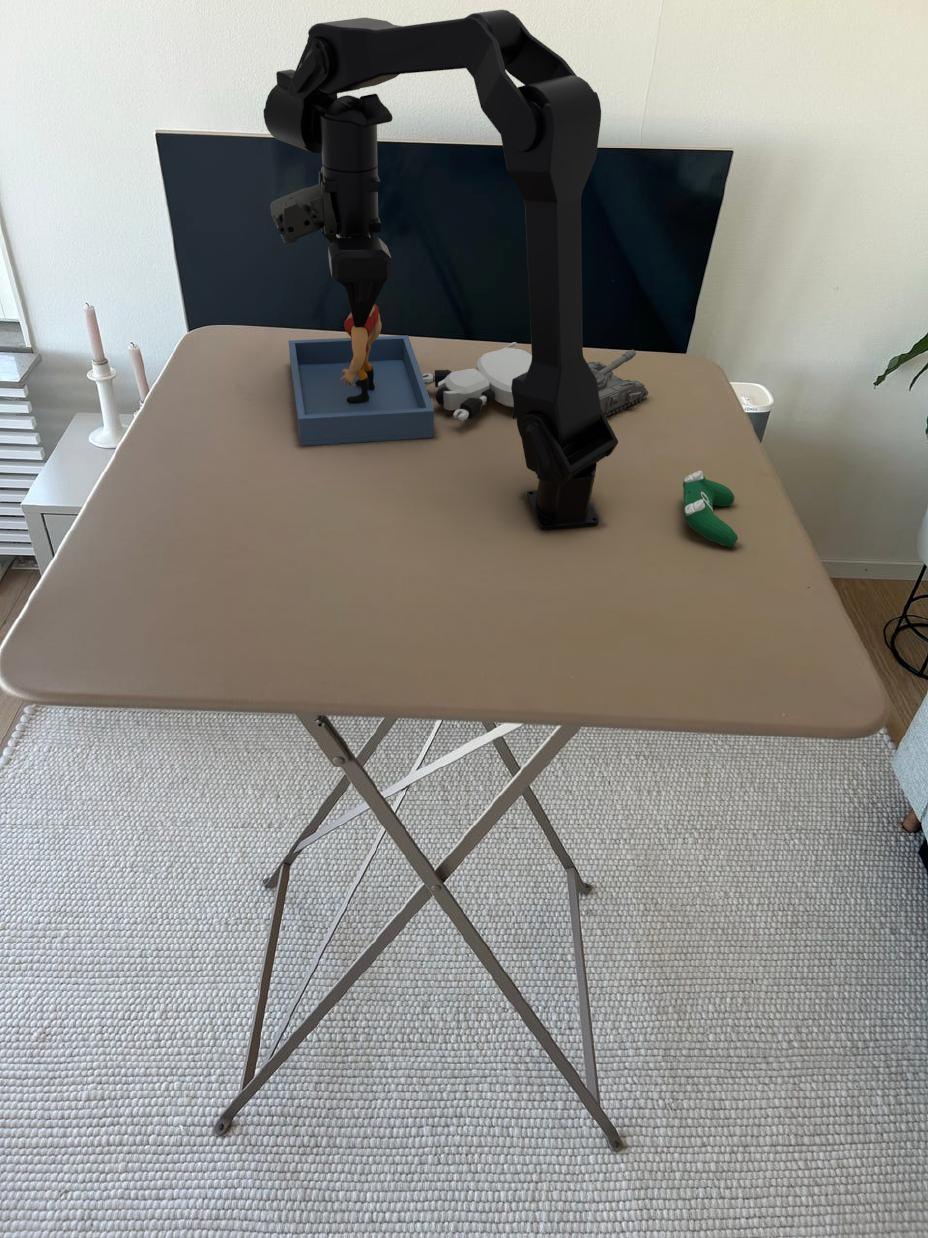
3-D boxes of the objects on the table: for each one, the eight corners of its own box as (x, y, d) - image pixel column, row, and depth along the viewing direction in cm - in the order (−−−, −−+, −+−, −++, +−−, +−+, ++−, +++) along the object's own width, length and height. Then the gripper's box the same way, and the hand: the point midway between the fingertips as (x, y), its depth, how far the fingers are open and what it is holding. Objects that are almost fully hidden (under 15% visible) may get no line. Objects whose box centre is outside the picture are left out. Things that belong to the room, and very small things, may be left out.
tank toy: (601, 372, 119) (607, 335, 115) (655, 400, 114) (663, 363, 110) (538, 398, 113) (542, 360, 109) (592, 429, 108) (598, 391, 104)
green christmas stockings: (706, 511, 100) (676, 474, 97) (736, 494, 97) (706, 456, 95) (709, 561, 93) (676, 523, 90) (741, 544, 91) (709, 505, 88)
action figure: (357, 374, 114) (353, 257, 104) (384, 378, 114) (383, 260, 103) (337, 410, 107) (331, 288, 97) (366, 414, 107) (363, 292, 96)
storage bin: (433, 437, 105) (434, 410, 102) (300, 446, 102) (298, 418, 99) (408, 360, 119) (408, 335, 116) (290, 366, 116) (288, 340, 113)
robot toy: (458, 442, 106) (566, 411, 110) (457, 409, 102) (568, 378, 107) (416, 395, 113) (518, 367, 118) (414, 363, 110) (519, 335, 115)
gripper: (267, 137, 97) (280, 278, 107) (275, 194, 84) (289, 349, 94) (368, 137, 99) (371, 276, 109) (392, 193, 86) (392, 344, 96)
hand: (354, 309), depth 102 cm, fingers open, 9 cm apart
